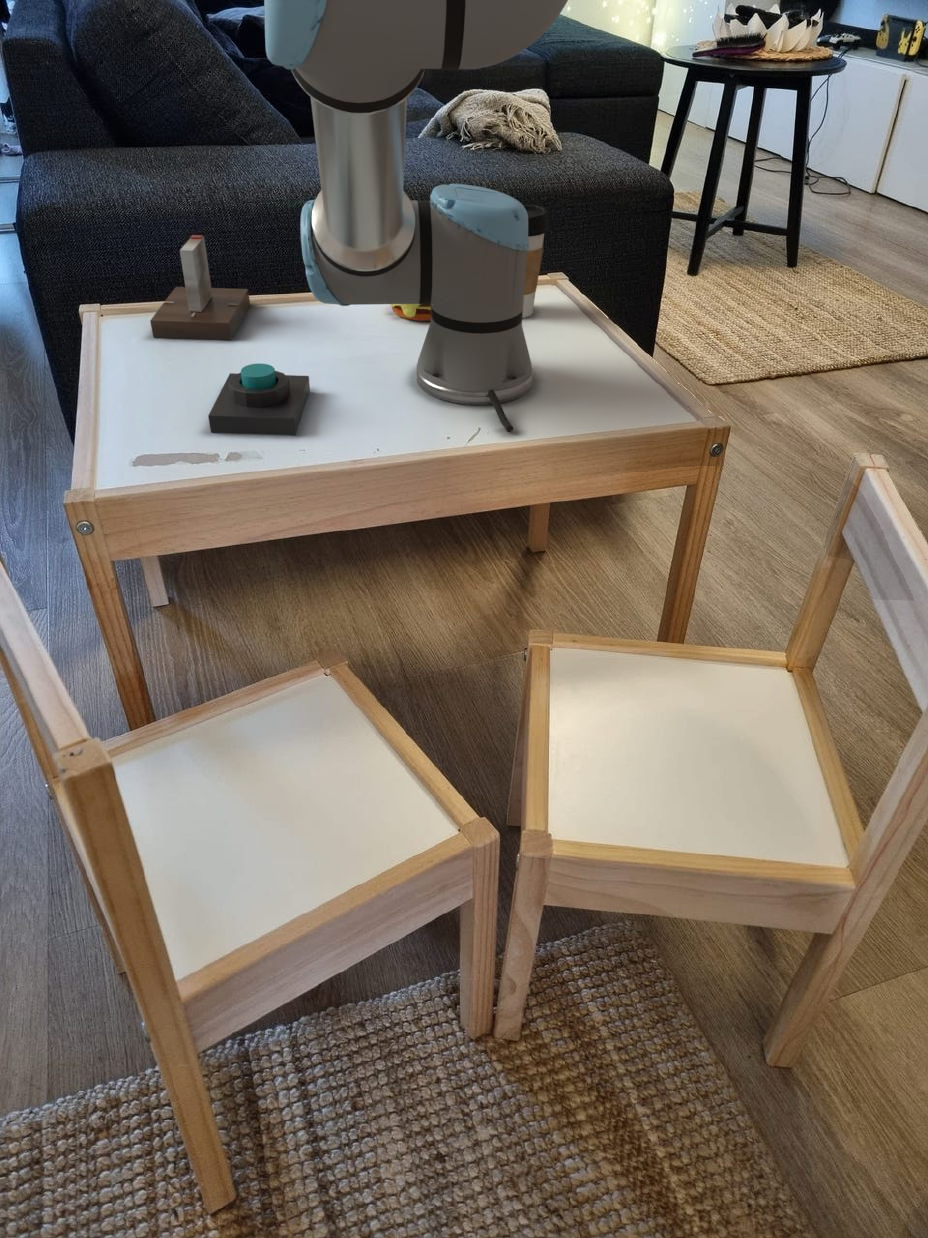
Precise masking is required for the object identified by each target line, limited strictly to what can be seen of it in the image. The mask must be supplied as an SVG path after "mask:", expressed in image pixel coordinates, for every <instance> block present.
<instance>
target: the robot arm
mask: <svg viewBox="0 0 928 1238" xmlns="http://www.w3.org/2000/svg"><path fill="white" fill-rule="evenodd" d="M568 1H569V0H263V4H264V39H265V40H264V41H265V45H264V46H265V53H266V58H267V60H268V61H269V62H270V63H271V64H272V65H274V66H278V67H283V68H284V69H286V70H290V71H291V73H292V75H293V77H294V79H295V81H296V82H297V84H298V85H299V87H300V88H301V89H302V90H303V92H305V94H307V95H308V96H309V97H310V104H311V113H312V121H313V130H314V138H315V146H316V155H317V163H318V173H319V180H320V188H321V189H320V191H319V192H318V194H317V196H316V198H315V199H310V200H307V201H306V202H305V203H304V205H303V206H302V208H301V213H300V221H299V223H300V225H299V227H300V245H301V254H302V259H303V264H304V267H305V276H306V280H307V283H308V284H307V285H308V286H309V289H310V291H311V293H312V295H313V296H314V298H315V299H316V300H317V301H318V302H320V303H322V304H328V305H339V306H341V307H349V306H351V305H352V306H353V305H357V306H359V305H362V306H364V305H366V306H367V305H391V304H431V320H430V321H429V326H428V329H427V332H426V335H425V337H424V341H423V344H422V347H421V350H420V353H419V356H418V359H417V362H416V383H417V385H418V386H419V388H421V390H423V392H425V393H427V394H428V395H430V396H432V397H434V398H436V399H439V400H442V401H446V402H451V403H454V404H455V403H456V404H462V405H475V406H477V405H479V406H480V405H492V406H493V408H494V411H495V413H496V415H497V417H498V420H499V422H500V423H501V425H502V427H503V428H504V430H505V431H506V432H507V433H512V432H513V431H514V426H513V425H512V424H511V422H510V421H509V419H508V418H507V415H506V413H505V410H504V409H503V406H502V404H501V403H506V402H509V401H512V400H515V399H517V398H519V397H521V396H523V395H525V394H526V393H527V392H529V390H530V389H531V386H532V385H533V374H534V373H533V372H534V371H533V363H532V360H531V356H530V353H529V348H528V344H527V341H526V340H527V339H526V336H525V333H524V328H523V318H522V315H523V301H524V287H525V273H526V258H527V250H528V249H529V242H528V214H527V211H526V209H525V208H524V206H523V205H524V204H522V202H520V201H519V200H517V199H516V198H515V197H512V196H510V195H508V194H506V193H504V192H501V191H499V190H495V189H491V188H487V187H483V186H478V185H472V184H462V183H449V184H440V185H437V186H435V187H434V188H433V189H432V191H431V194H430V195H429V200H413V199H410V197H409V196H408V194H407V193H406V191H405V190H404V183H405V182H404V178H405V158H406V157H405V155H406V132H407V131H406V130H407V129H406V128H407V108H408V107H407V106H408V98H409V97H411V95H412V94H413V92H414V91H415V90H416V89H417V87H418V86H419V84H420V83H421V81H422V78H423V76H424V74H425V70H478V69H482V68H487V67H491V66H495V65H498V64H500V63H503V62H506V61H507V60H509V59H512V58H515V57H516V56H517V55H519V54H520V53H522V52H523V51H525V50H526V49H527V48H529V47H530V46H532V45H533V44H534V43H536V42H537V41H538V40H540V38H541V37H542V36H543V35H544V34H545V33H546V32H547V31H548V30H549V29H550V27H552V25H554V23H555V22H556V21H557V19H558V17H559V16H560V15H561V13H562V11H563V10H564V8H565V6H566V5H567V3H568Z"/></svg>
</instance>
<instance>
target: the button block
mask: <svg viewBox="0 0 928 1238" xmlns="http://www.w3.org/2000/svg"><path fill="white" fill-rule="evenodd" d="M275 377H276V385H274V386H272V387H269V388H264V389H249V388H246V387H243V385H242V378H241V371H240V372H238V373H235V372H233V373H232V372H231V373H229V374H228V376H227V379H226V380H225V382H224V384H223V386H222V388H221V389H220V392H219V394H218V396H217V398H216V399H215V402H214V404H213V405H212V407H211V410H210V411H209V413H208V424H209V429H210V433H213V434H214V433H215V434H217V433H218V434H245V435H246V434H247V435H250V434H251V435H275V436H276V435H279V436H280V435H281V436H296V435H297V431H298V429H299V426H300V423H301V419H302V417H303V414H304V411H305V408H306V405H307V402H308V399H309V396H310V393H311V386H310V385H311V384H310V376H309V375H292V374H291V375H289V374H286V373H284V372H280V371H278V370H275Z"/></svg>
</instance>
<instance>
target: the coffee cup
mask: <svg viewBox="0 0 928 1238" xmlns="http://www.w3.org/2000/svg"><path fill="white" fill-rule="evenodd" d="M522 205H523V206H524V208H525V209H526V211H527V214H528V242H529V249H528V250H527V258H526V273H525V287H524V301H523V315H522V319H525V318H528V317H531V316H532V314H533V311H534V306H535V298H536V292H537V287H538V283H539V282H538V281H539V276H540V271H541V270H540V269H541V264H542V259H543V253H544V248H545V247H544V246H545V244H544V237H545V234H547V232H548V227H549V223H548V209H546V208H545V207H544V206H541V205H535V204H522Z"/></svg>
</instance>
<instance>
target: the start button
mask: <svg viewBox="0 0 928 1238" xmlns="http://www.w3.org/2000/svg"><path fill="white" fill-rule="evenodd" d="M275 371H276V369H275V367H274V366H272V365H271V364H267V363H260V362H259V363H250V364H247V365H244V366H243V367H242V368H241V369H240V372H241V378H242V385H243V387H246V388H249V389H264V388H269V387H272V386H274V385H276V377H275Z"/></svg>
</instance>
